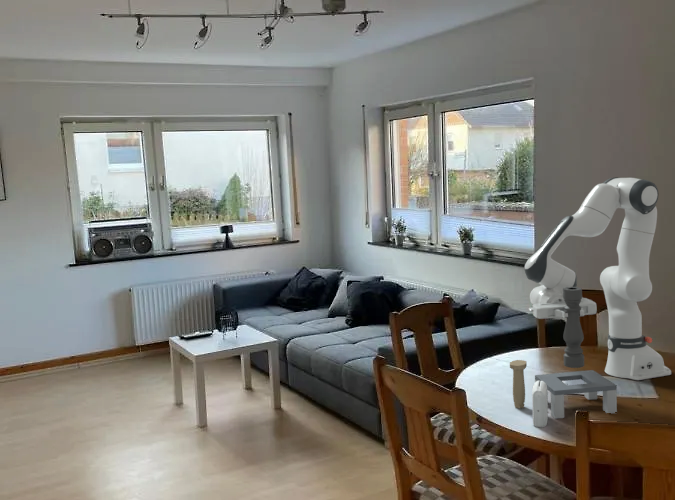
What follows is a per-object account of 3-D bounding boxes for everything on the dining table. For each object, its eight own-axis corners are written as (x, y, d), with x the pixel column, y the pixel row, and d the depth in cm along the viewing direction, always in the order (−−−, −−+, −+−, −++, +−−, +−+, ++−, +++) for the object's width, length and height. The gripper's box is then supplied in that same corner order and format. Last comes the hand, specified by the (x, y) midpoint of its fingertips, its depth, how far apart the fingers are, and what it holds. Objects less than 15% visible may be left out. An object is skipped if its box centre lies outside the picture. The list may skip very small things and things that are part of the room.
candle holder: (587, 367, 212) (585, 289, 209) (567, 368, 212) (566, 291, 209) (579, 361, 218) (578, 286, 215) (561, 362, 218) (559, 287, 215)
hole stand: (593, 395, 225) (592, 370, 224) (616, 413, 209) (616, 385, 208) (535, 401, 224) (534, 375, 223) (554, 418, 208) (554, 390, 207)
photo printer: (546, 428, 201) (546, 388, 200) (532, 427, 203) (531, 387, 201) (548, 415, 211) (547, 377, 209) (534, 414, 212) (533, 377, 211)
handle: (530, 405, 220) (529, 361, 218) (521, 411, 215) (520, 366, 213) (516, 402, 223) (515, 359, 221) (508, 408, 218) (506, 364, 216)
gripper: (526, 298, 224) (541, 307, 211) (584, 294, 226) (604, 302, 212) (526, 317, 225) (542, 327, 212) (585, 312, 227) (604, 321, 213)
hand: (574, 314), depth 212 cm, fingers closed on candle holder, 4 cm apart
